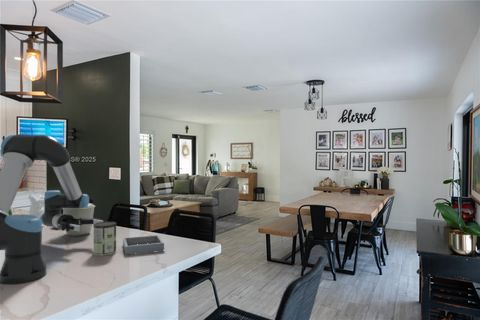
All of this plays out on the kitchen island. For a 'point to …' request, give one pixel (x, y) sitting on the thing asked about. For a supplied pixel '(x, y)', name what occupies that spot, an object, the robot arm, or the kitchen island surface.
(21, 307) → the kitchen island surface
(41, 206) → the cherub figurine
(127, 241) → the grey square tray
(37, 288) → the kitchen island surface
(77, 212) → the canister
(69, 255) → the kitchen island surface
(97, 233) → the coffee can
